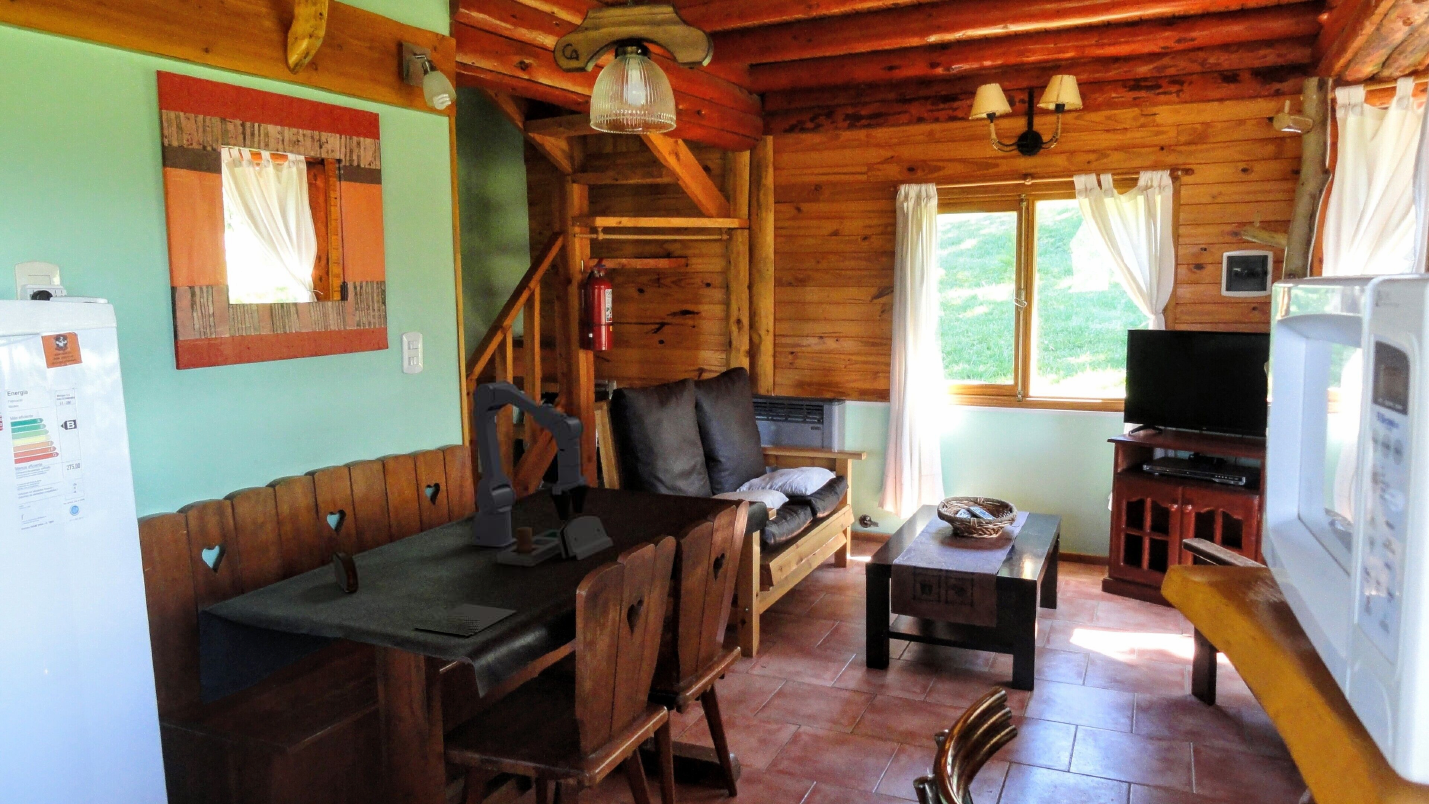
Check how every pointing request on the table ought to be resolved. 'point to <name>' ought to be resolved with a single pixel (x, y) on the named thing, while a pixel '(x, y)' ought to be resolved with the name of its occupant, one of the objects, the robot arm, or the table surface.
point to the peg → (524, 540)
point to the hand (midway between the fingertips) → (571, 516)
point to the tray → (542, 550)
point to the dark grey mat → (480, 615)
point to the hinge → (582, 537)
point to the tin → (345, 570)
